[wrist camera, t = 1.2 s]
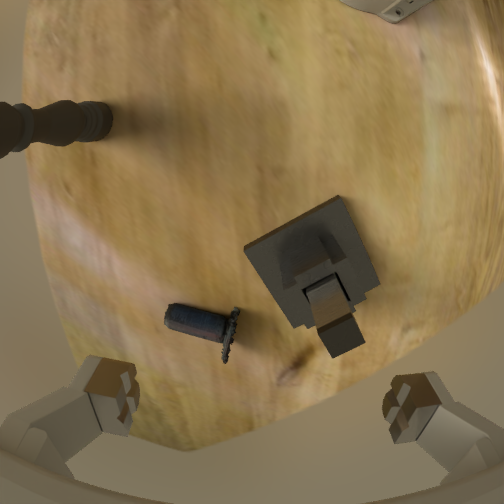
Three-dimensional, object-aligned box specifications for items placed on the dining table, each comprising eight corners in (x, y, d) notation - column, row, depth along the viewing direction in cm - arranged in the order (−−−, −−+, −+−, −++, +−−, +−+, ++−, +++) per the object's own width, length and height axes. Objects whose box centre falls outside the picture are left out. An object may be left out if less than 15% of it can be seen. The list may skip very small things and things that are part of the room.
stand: (337, 195, 46) (357, 213, 37) (376, 278, 51) (398, 310, 42) (243, 246, 49) (241, 275, 40) (292, 321, 54) (298, 360, 45)
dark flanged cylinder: (242, 303, 55) (174, 287, 54) (239, 320, 47) (161, 302, 47) (232, 348, 56) (167, 333, 56) (228, 370, 49) (155, 353, 49)
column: (323, 251, 47) (353, 315, 31) (335, 274, 48) (367, 342, 32) (297, 265, 48) (316, 334, 32) (310, 287, 49) (331, 360, 33)
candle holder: (119, 127, 42) (5, 142, 19) (88, 148, 43) (-29, 180, 20) (103, 94, 40) (-13, 85, 17) (73, 115, 41) (-46, 127, 18)
